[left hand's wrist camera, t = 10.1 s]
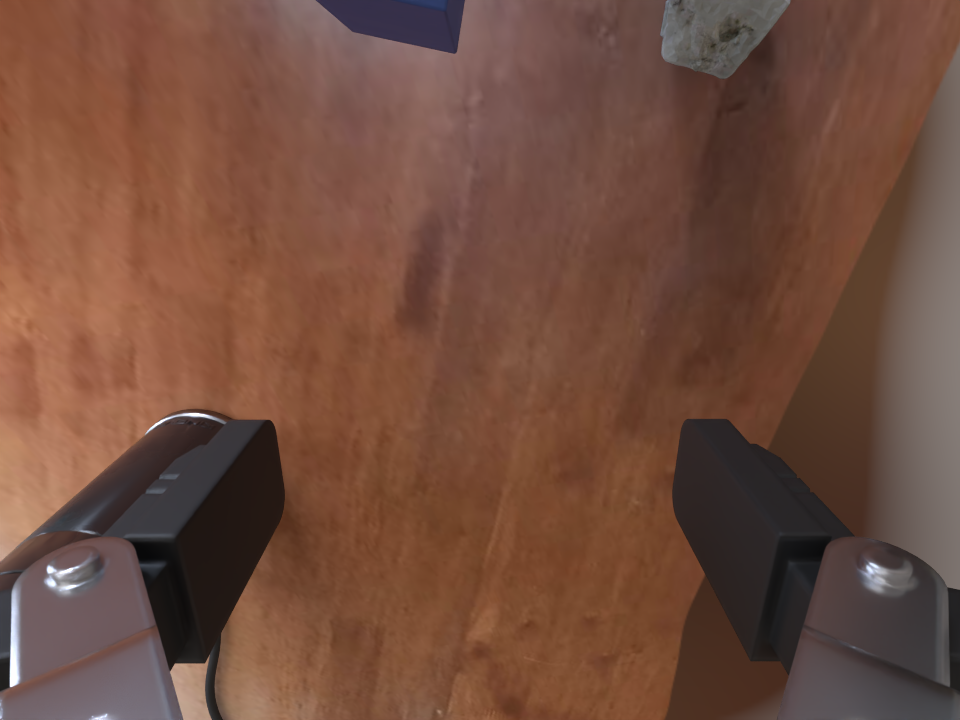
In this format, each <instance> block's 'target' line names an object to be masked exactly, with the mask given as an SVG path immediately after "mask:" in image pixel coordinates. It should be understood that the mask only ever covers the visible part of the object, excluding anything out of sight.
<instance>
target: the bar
mask: <svg viewBox="0 0 960 720" xmlns="http://www.w3.org/2000/svg"><path fill="white" fill-rule="evenodd" d="M316 1H317V2H319V3H320V4H321V5H322V6H323V7H324V8H326V9H327V10H328V11H329V12H330V13H331V14H333V15H334V16H335V17H336V18H337V19H338V20H340V21H341V22H342V23H343V24H344V25H345V26H346V27H348V28H349V29H350V30H351V31H352V32H356V33H360V34H365V35H370V36H374V37H379V38H384V39H388V40H393V41H398V42H402V43H407V44H412V45H416V46H421V47H426V48H430V49H435V50H440V51H444V52H449V53H454V54H455V53H456V52H457V47H458V41H459V34H460V28H461V21H462V15H463V9H464V2H465V0H316Z"/></svg>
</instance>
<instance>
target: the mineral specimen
mask: <svg viewBox="0 0 960 720" xmlns="http://www.w3.org/2000/svg"><path fill="white" fill-rule="evenodd" d="M790 1H791V0H667V1H666V6H665V12H664V17H663V22H662V28H661V33H660V36H662V37H663V42H662V51H661V54H662V56H663V58H664V60H665V61H666V62H669V63H672V64H675V65H678V66H685V67H688V68H691V69H693V70H694V71H700V72H704V73H708V74H711V75H714V76H716V77H718V78H719V79H726V78H728V77H730V76H731V75H732V74H733V73H734V72H735V71H736V69H737V68H738V67H739V65H740V64H741V63H742V62H743V61H744V60H745V59H746V58H747V57H748V55H749V53H750V52H751V51H752V50H753V49H754V48H755V47H757V46H758V45H759V43H760V42H761V41H762V39H763V38H764V37H765V36H766V34H767V33H768V32H769V31H770V29H771V28H772V27H773V26H774V24H775V23H776V22H777V20H778V19H779V18H780V16H781V15H782V14H783V13H784V11H785V10H786V9H787V7H788V6H789V4H790Z"/></svg>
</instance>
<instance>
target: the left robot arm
mask: <svg viewBox="0 0 960 720" xmlns="http://www.w3.org/2000/svg"><path fill="white" fill-rule="evenodd" d="M672 498H673V507H674V512H675V516H676V519H677V521H678V523H679V525H680V527H681V529H682V530H683V532H684V534H685V536H686V538H687V540H688V542H689V544H690V546H691V548H692V550H693V552H694V553H695V555H696V557H697V559H698V561H699V563H700V565H701V567H702V569H703V571H704V573H705V575H706V577H707V578H708V580H709V582H710V584H711V586H712V588H713V590H714V592H715V594H716V596H717V598H718V600H719V601H720V603H721V605H722V607H723V609H724V611H725V613H726V615H727V617H728V619H729V621H730V622H731V624H732V626H733V628H734V630H735V632H736V634H737V636H738V638H739V640H740V642H741V644H742V646H743V647H744V649H745V651H746V653H747V655H748V657H749V659H750V661H781V663H782V665H783V667H784V668H785V670H786V672H787V674H788V675H789V678H788V681H787V685H786V689H785V692H784V696H783V699H782V703H781V706H780V710H779V713H778V717H777V720H960V590H957V589H953V588H948V587H947V586H946V584H945V582H944V580H943V579H942V578H941V577H940V575H939V574H938V573H937V572H936V571H935V570H934V569H933V568H932V567H930V566H929V565H928V564H927V563H925V562H924V561H922V560H921V559H919V558H918V557H916V556H915V555H913V554H911V553H909V552H907V551H905V550H903V549H901V548H899V547H896V546H894V545H891V544H888V543H885V542H882V541H878V540H874V539H870V538H863V537H855V536H854V535H853V534H852V533H851V532H850V531H849V529H848V528H847V527H846V526H845V525H844V524H843V523H842V522H841V521H840V520H839V519H838V518H837V517H836V516H835V515H834V514H833V513H832V512H831V511H830V510H829V508H828V507H827V506H826V505H825V504H824V503H823V502H822V501H821V500H820V499H819V498H818V497H817V496H816V495H815V494H814V493H813V492H810V489H809V487H808V486H807V485H806V484H805V483H804V482H803V481H802V480H801V479H800V478H797V477H796V474H795V473H794V472H793V471H792V470H791V468H790V467H789V466H788V465H787V464H786V463H785V462H784V461H783V460H782V459H781V458H780V457H778V456H776V455H774V454H773V453H771V452H769V451H768V450H766V449H764V448H762V447H761V446H759V445H757V444H750V443H749V442H748V441H747V440H746V439H745V438H744V437H743V436H742V434H741V433H740V432H739V431H738V430H737V429H736V428H735V427H734V426H733V424H732V423H731V422H730V421H729V420H727V419H687V420H685V421H684V423H683V425H682V428H681V434H680V440H679V447H678V454H677V461H676V468H675V475H674V482H673V490H672ZM284 500H285V490H284V483H283V476H282V469H281V462H280V455H279V449H278V442H277V435H276V430H275V426H274V424H273V423H272V421H270V420H233V419H231V418H229V417H227V416H225V415H222V414H219V413H216V412H213V411H208V410H201V409H188V410H181V411H177V412H174V413H171V414H169V415H167V416H165V417H164V418H162V419H161V420H160V421H158V422H157V423H156V424H155V425H154V426H153V427H151V428H150V429H149V430H148V432H147V433H146V434H145V435H144V436H143V437H142V438H141V439H140V440H139V441H138V442H136V443H135V444H134V445H133V446H132V447H130V448H129V449H128V450H127V451H126V452H125V453H124V454H122V455H121V456H120V457H119V458H118V459H117V460H116V461H114V462H113V463H112V464H111V465H110V466H109V467H108V468H106V469H105V470H104V471H103V472H102V473H101V474H100V475H98V476H97V477H96V478H95V479H94V480H93V481H92V482H90V483H89V484H88V485H87V486H86V487H85V488H84V489H82V490H81V491H80V492H79V493H78V494H77V495H76V496H74V497H73V498H72V499H71V500H70V501H69V502H68V503H66V504H65V505H64V506H63V507H62V508H61V509H60V510H58V511H57V512H56V513H55V514H54V515H53V516H52V517H50V518H49V519H48V520H47V521H46V522H45V523H44V524H42V525H41V526H40V527H39V528H38V529H37V530H36V531H34V532H33V533H32V534H31V535H30V536H29V537H27V538H26V539H25V540H24V541H23V542H22V543H21V544H19V545H18V546H17V547H16V548H15V549H14V550H13V551H12V552H11V553H10V554H8V555H7V556H6V557H5V558H4V559H3V560H2V561H0V720H183V717H182V713H181V710H180V706H179V703H178V699H177V696H176V692H175V688H174V685H173V681H172V678H171V674H170V671H171V669H172V667H173V666H174V664H175V663H205V662H206V660H207V658H208V657H209V655H210V658H209V663H208V669H207V674H206V684H205V693H206V702H207V707H208V710H209V713H210V716H211V718H212V720H223V719H222V717H221V715H220V713H219V710H218V707H217V704H216V699H215V688H214V685H215V674H216V668H217V663H218V657H219V651H220V643H221V632H222V630H223V628H224V626H225V624H226V622H227V621H228V619H229V617H230V615H231V613H232V611H233V609H234V607H235V605H236V603H237V602H238V600H239V598H240V596H241V594H242V592H243V590H244V588H245V586H246V584H247V583H248V581H249V579H250V577H251V575H252V573H253V571H254V569H255V567H256V566H257V564H258V562H259V560H260V558H261V556H262V554H263V552H264V550H265V548H266V547H267V545H268V543H269V541H270V539H271V537H272V535H273V533H274V531H275V530H276V528H277V526H278V524H279V522H280V520H281V517H282V513H283V508H284Z"/></svg>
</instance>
